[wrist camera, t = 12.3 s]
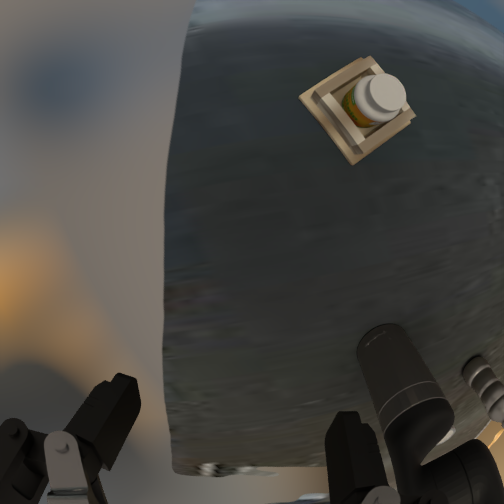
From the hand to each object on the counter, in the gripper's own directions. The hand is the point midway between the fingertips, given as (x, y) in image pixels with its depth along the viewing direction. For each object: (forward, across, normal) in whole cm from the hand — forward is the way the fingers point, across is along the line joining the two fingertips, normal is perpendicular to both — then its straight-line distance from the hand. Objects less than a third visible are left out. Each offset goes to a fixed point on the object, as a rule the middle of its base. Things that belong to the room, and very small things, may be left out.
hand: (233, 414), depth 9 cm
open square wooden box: (+29, -10, -19) cm, 36 cm away
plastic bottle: (+29, -49, +21) cm, 61 cm away
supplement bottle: (+28, -10, -19) cm, 35 cm away
